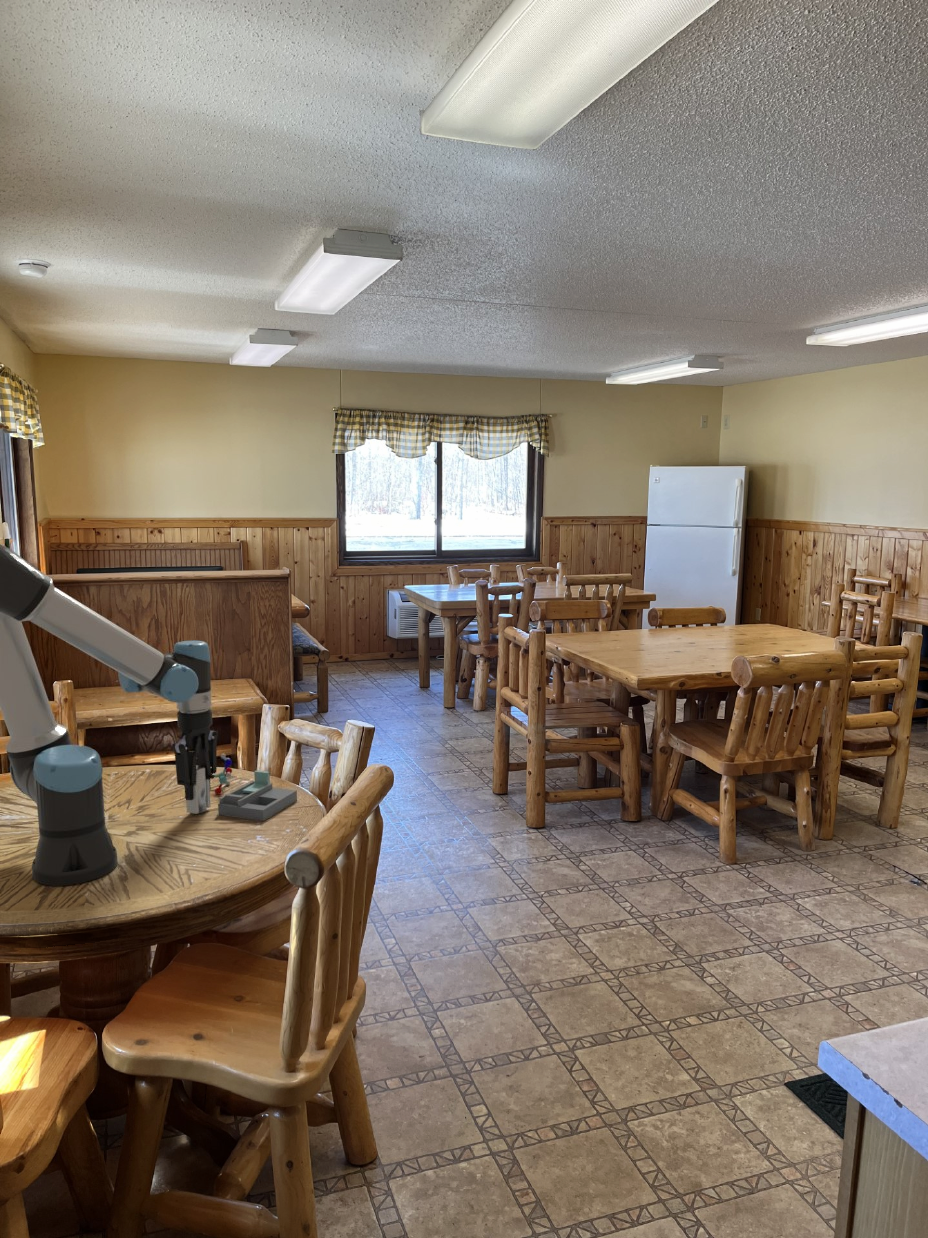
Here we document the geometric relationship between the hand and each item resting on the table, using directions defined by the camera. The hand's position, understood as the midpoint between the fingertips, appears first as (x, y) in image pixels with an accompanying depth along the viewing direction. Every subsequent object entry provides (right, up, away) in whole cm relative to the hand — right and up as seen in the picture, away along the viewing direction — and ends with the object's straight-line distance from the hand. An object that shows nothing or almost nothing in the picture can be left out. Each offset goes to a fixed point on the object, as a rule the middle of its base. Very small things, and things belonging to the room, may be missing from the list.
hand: (198, 809), depth 198 cm
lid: (+11, +3, +7) cm, 14 cm away
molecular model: (0, +1, +17) cm, 17 cm away
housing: (+13, 0, +3) cm, 13 cm away
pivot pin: (0, 0, 0) cm, 0 cm away
